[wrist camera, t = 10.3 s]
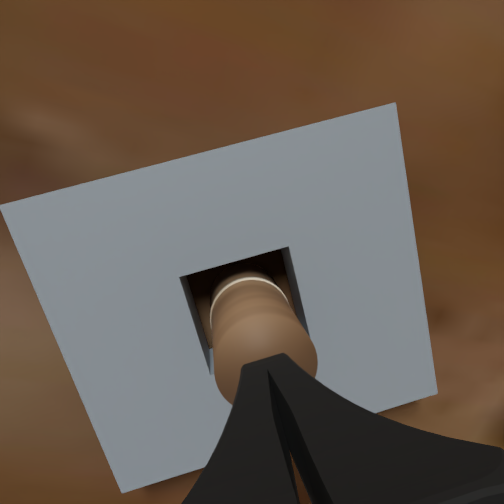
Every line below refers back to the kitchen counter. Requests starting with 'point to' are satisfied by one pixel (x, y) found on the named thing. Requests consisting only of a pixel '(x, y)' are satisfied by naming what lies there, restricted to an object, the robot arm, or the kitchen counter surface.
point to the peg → (253, 325)
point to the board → (219, 253)
